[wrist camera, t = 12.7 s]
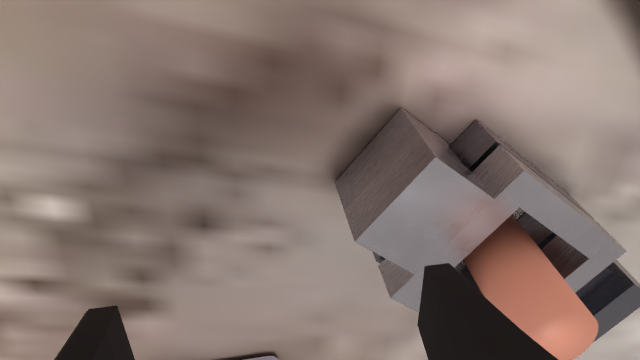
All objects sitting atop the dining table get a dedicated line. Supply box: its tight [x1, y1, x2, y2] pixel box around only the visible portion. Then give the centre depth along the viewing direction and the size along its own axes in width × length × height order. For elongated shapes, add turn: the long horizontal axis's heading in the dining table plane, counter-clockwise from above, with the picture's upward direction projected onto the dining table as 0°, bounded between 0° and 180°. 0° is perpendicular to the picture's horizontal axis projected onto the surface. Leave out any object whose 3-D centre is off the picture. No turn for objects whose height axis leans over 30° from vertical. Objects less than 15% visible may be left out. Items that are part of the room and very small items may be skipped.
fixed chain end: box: [373, 120, 640, 342], centre depth 25 cm, size 13×7×3 cm, turn 51°
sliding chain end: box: [335, 108, 626, 312], centre depth 23 cm, size 11×7×4 cm
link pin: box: [463, 214, 598, 360], centre depth 22 cm, size 3×3×8 cm
